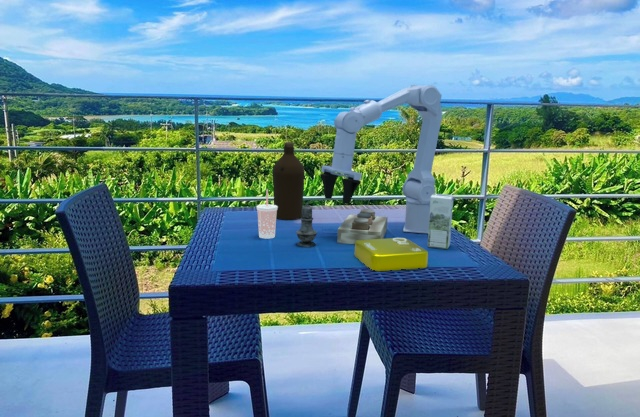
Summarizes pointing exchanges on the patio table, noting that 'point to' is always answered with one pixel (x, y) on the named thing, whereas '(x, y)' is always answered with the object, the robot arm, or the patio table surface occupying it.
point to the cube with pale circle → (360, 224)
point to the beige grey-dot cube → (365, 216)
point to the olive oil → (288, 185)
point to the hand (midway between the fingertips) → (337, 200)
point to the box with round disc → (369, 212)
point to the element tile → (390, 254)
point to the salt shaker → (306, 228)
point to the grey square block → (352, 235)
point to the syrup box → (440, 221)
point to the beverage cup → (267, 219)
